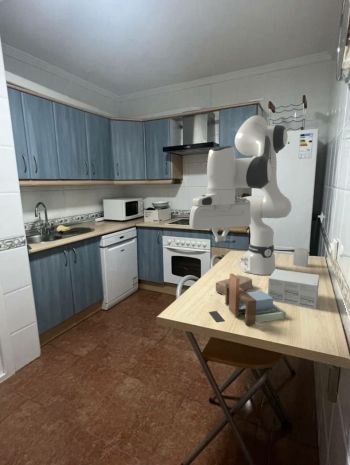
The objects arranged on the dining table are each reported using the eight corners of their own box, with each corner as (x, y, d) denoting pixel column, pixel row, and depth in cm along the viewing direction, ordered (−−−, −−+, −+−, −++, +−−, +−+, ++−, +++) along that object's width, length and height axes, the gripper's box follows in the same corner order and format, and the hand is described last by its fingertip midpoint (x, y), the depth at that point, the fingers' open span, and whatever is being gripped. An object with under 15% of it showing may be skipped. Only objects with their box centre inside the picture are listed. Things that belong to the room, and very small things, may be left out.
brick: (237, 282, 120) (237, 273, 119) (253, 287, 114) (253, 277, 113) (214, 292, 109) (214, 282, 108) (230, 298, 103) (231, 287, 102)
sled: (225, 305, 95) (226, 271, 93) (258, 301, 98) (259, 267, 96) (239, 320, 84) (240, 281, 82) (275, 315, 87) (278, 277, 85)
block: (241, 308, 94) (242, 293, 93) (261, 305, 96) (261, 290, 95) (251, 317, 88) (252, 301, 87) (272, 314, 90) (273, 298, 89)
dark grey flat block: (208, 312, 91) (208, 311, 91) (216, 311, 92) (216, 310, 92) (216, 322, 85) (216, 321, 85) (224, 321, 85) (224, 320, 85)
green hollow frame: (236, 303, 98) (236, 299, 97) (262, 300, 100) (262, 295, 100) (256, 322, 84) (256, 316, 84) (285, 318, 87) (285, 312, 86)
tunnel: (225, 303, 98) (225, 282, 96) (232, 302, 99) (233, 282, 97) (246, 326, 82) (247, 301, 81) (255, 324, 83) (256, 300, 81)
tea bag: (306, 267, 140) (307, 249, 138) (293, 265, 144) (294, 248, 142) (307, 265, 142) (309, 248, 141) (294, 263, 146) (295, 246, 145)
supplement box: (317, 296, 103) (319, 274, 102) (315, 310, 92) (318, 285, 91) (273, 288, 112) (275, 268, 110) (267, 300, 101) (268, 277, 99)
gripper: (245, 197, 87) (244, 237, 89) (187, 199, 82) (188, 241, 85) (255, 198, 81) (254, 241, 83) (193, 200, 76) (193, 245, 79)
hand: (220, 241), depth 84 cm, fingers closed
